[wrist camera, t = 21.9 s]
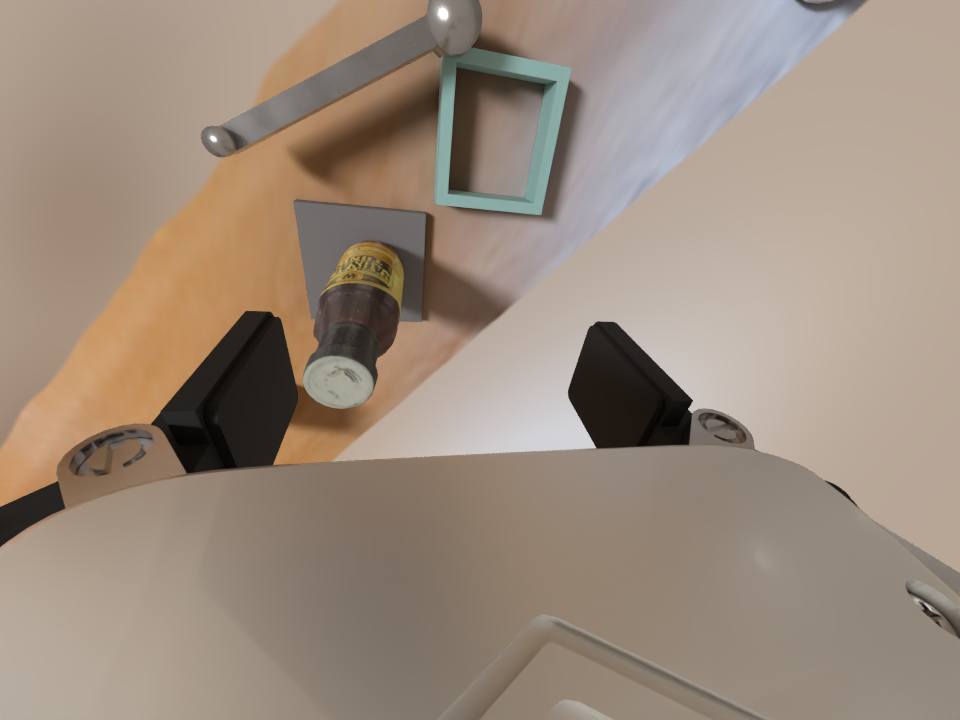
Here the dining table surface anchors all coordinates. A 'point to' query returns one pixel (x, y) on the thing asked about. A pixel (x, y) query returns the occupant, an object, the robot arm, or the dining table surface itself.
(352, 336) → the sauce bottle
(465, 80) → the dining table surface
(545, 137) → the teal square frame
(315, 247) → the pad
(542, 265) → the dining table surface
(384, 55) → the bar
